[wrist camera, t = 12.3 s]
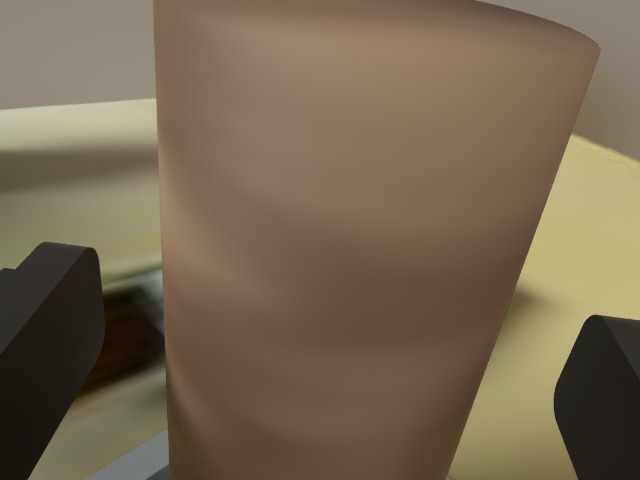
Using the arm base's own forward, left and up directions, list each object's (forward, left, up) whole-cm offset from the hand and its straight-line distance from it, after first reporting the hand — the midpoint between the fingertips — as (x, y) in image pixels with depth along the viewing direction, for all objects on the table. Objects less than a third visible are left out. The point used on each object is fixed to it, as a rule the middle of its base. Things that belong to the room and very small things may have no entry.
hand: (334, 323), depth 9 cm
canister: (0, 0, -11) cm, 11 cm away
